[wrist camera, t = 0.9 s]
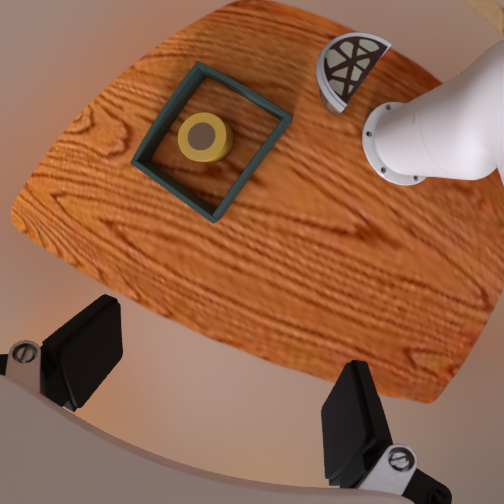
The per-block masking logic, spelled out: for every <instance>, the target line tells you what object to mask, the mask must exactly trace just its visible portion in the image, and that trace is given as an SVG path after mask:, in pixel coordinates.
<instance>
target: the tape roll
mask: <svg viewBox="0 0 504 504" xmlns="http://www.w3.org/2000/svg"><path fill="white" fill-rule="evenodd" d="M178 144H179V147H180V150H181V151H182V153H183V154H184V155H185V156H186V157H188V158H189V159H191V160H194V161H201V162H217V161H220V160H222V159H224V158H225V157H226V156H227V155H228V154H229V153H230V151H231V150H232V147H233V144H234V135H233V131H232V129H231V128H230V126H229V125H228V124H227V123H225V122H224V121H223V120H222V119H220V118H219V117H218V116H216V115H214V114H212V113H208V112H201V113H197V114H194V115H192V116H190V117H189V118H187V119H186V120H185V121H184V123H183V124H182V126H181V127H180V130H179V133H178Z"/></svg>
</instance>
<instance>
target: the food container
mask: <svg viewBox="0 0 504 504" xmlns="http://www.w3.org/2000/svg"><path fill="white" fill-rule="evenodd" d="M391 45H392V44H391V43H389V42H388V41H386V40H384V39H382V38H380V37H378V36H375V35H372V34H368V33H360V32H356V33H348V34H344V35H341V36H338V37H336V38H335V39H333V40H332V41H330V42H329V43H328V44H327V45H326V46H325V47H324V48H323V50H322V51H321V53H320V54H319V57H318V59H317V64H316V75H317V80H318V83H319V87H320V96H321V99H322V101H323V103H324V105H325V106H326V108H327V109H328V110H329V111H330V112H331V113H332V114H333V115H334V116H337V115H338V114H339V113H340V112H342V111H343V110H344V108H345V107H346V106H347V103H348V101H349V100H350V98H351V97H352V96H353V94H354V93H355V91H356V90H357V89H358V87H359V86H360V84H361V83H362V82H363V80H364V79H365V78H366V76H367V75H368V74H369V72H370V71H371V70H372V68H373V67H374V66H375V64H376V63H377V62H378V60H379V59H380V58H381V57H382V56H383V54H384V53H385V52H386V51H387V50H388V48H389V47H390V46H391Z"/></svg>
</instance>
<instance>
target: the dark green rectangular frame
mask: <svg viewBox="0 0 504 504" xmlns="http://www.w3.org/2000/svg"><path fill="white" fill-rule="evenodd" d="M206 76H208V77H210V78H211V79H213V80H215V81H217V82H219V83H221V84H222V85H224V86H226V87H228V88H229V89H231V90H233V91H235V92H236V93H238V94H240V95H241V96H243V97H245V98H246V99H248V100H250V101H251V102H253V103H255V104H256V105H258V106H259V107H261V108H262V109H264V110H266V111H267V112H269V113H270V114H272V115H273V116H275V117H276V118H278V119H279V120H281V122H280V123H279V124H278V125H277V127H276V128H275V129H274V131H273V132H272V133H271V135H270V136H269V137H268V138H267V140H266V141H265V142H264V144H263V145H262V146H261V148H260V149H259V150H258V152H257V153H256V154H255V156H254V157H253V159H252V160H251V161H250V163H249V164H248V165H247V167H246V168H245V170H244V171H243V172H242V174H241V175H240V176H239V178H238V179H237V181H236V182H235V183H234V185H233V186H232V188H231V189H230V191H229V192H228V193H227V195H226V196H225V198H224V199H223V201H222V202H221V203H220V205H219V206H218V208H217V209H215V208H213V207H212V206H210V205H209V204H208V203H206V202H205V201H204V200H202V199H201V198H199V197H198V196H197V195H195V194H194V193H192V192H191V191H190V190H188V189H187V188H186V187H184V186H183V185H181V184H180V183H179V182H177V181H176V180H174V179H173V178H172V177H170V176H169V175H167V174H166V173H165V172H163V171H162V170H160V169H159V168H158V167H156V166H155V165H153V164H152V163H151V162H149V160H150V158H151V157H152V155H153V153H154V152H155V150H156V148H157V147H158V145H159V143H160V142H161V140H162V139H163V137H164V135H165V134H166V132H167V131H168V129H169V128H170V126H171V125H172V123H173V122H174V120H175V119H176V117H177V116H178V114H179V113H180V111H181V110H182V108H183V107H184V106H185V104H186V103H187V101H188V100H189V98H190V97H191V96H192V94H193V93H194V92H195V90H196V89H197V88H198V86H199V85H200V84H201V82H202V81H203V80H204V78H205V77H206ZM291 123H292V116H291V115H290V114H288V113H287V112H285V111H284V110H282V109H281V108H279V107H278V106H276V105H275V104H273V103H272V102H270V101H269V100H267V99H265V98H264V97H262V96H261V95H259V94H257V93H256V92H254V91H252V90H251V89H249V88H247V87H246V86H244V85H242V84H240V83H239V82H237V81H235V80H233V79H232V78H230V77H228V76H226V75H224V74H222V73H220V72H219V71H217V70H215V69H213V68H211V67H209V66H207V65H205V64H203V63H201V62H199V61H197V63H196V64H195V65H194V66H193V67H192V69H191V70H190V71H189V73H188V74H187V75H186V77H185V78H184V79H183V81H182V82H181V83H180V85H179V86H178V87H177V89H176V90H175V91H174V93H173V94H172V96H171V97H170V99H169V100H168V102H167V103H166V104H165V106H164V107H163V109H162V110H161V112H160V113H159V115H158V117H157V118H156V120H155V121H154V123H153V124H152V126H151V128H150V129H149V131H148V133H147V134H146V136H145V137H144V139H143V141H142V143H141V144H140V146H139V148H138V149H137V151H136V153H135V155H134V157H133V159H132V160H131V162H130V163H131V164H132V165H134V166H135V167H137V168H138V169H139V170H141V171H142V172H143V173H145V174H146V175H147V176H149V177H150V178H152V179H153V180H154V181H156V182H157V183H158V184H160V185H161V186H162V187H164V188H165V189H167V190H168V191H169V192H171V193H172V194H173V195H175V196H176V197H177V198H179V199H180V200H181V201H183V202H184V203H186V204H187V205H188V206H190V207H191V208H192V209H194V210H195V211H196V212H198V213H199V214H201V215H202V216H203V217H205V218H206V219H207V220H209V221H210V222H211V223H213V224H214V223H215V222H217V221H218V220H220V219H221V218H222V216H223V215H224V213H225V212H226V210H227V209H228V208H229V206H230V205H231V203H232V202H233V200H234V199H235V198H236V196H237V195H238V193H239V192H240V191H241V189H242V188H243V187H244V185H245V184H246V182H247V181H248V180H249V178H250V177H251V175H252V174H253V173H254V171H255V170H256V169H257V167H258V166H259V165H260V163H261V162H262V161H263V159H264V158H265V157H266V155H267V154H268V153H269V151H270V150H271V149H272V147H273V146H274V145H275V143H276V142H277V141H278V139H279V138H280V137H281V135H282V134H283V133H284V132H285V130H286V129H287V128H288V126H289V125H290V124H291Z"/></svg>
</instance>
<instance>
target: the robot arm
mask: <svg viewBox="0 0 504 504" xmlns="http://www.w3.org/2000/svg"><path fill="white" fill-rule="evenodd" d="M386 107H387V108H388V110H387V109H386ZM366 133H368V134H369V136H367V135H366ZM362 143H363V149H364V152H365V155H366V157H367V159H368V161H369V163H370V165H371V166H372V167H373V169H374V170H375V171H376V172H377V173H378V174H379V175H380V176H381V177H383V178H384V179H386V180H387V181H390V182H392V183H395V184H399V185H413V184H417V183H419V182H421V181H422V180H424V179H425V178H426V177H427V176H430V177H442V178H452V179H463V180H477V179H481V178H484V177H486V176H487V175H489V174H490V173H492V172H493V171H494V170H495V169H496V167H497V168H498V170H499V173H500V176H501V179H502V183H503V186H504V40H502V41H500V42H498V43H496V44H495V45H493V46H492V47H490V48H489V49H488V50H486V51H485V52H484V53H483V54H482V55H481V56H480V57H479V58H478V59H477V60H475V61H474V62H473V63H472V64H471V65H470V66H469V67H468V68H467V69H465V70H464V71H463V72H461V73H460V74H459V75H457V76H456V77H454V78H452V79H450V80H449V81H447V82H445V83H444V84H442V85H440V86H438V87H436V88H434V89H432V90H430V91H429V92H427V93H425V94H423V95H421V96H419V97H417V98H415V99H413V100H411V101H410V102H408V103H406V104H405V103H402V102H387V103H384V104H381V105H380V106H378V107H376V108H375V109H374V110H373V111H372V112H371V113H370V114H369V115H368V117H367V118H366V121H365V123H364V126H363V130H362ZM381 168H382V169H383V171H382V172H381ZM414 177H415V179H414ZM42 343H43V345H42V346H41V347H39V345H38V344H36V343H35V342H32V341H28V340H25V341H20V342H17V343H16V344H14V345H13V346H12V347H11V348H10V351H9V354H0V504H451V501H452V495H451V492H450V490H449V489H448V488H447V487H446V486H445V485H443V484H441V483H440V482H438V481H436V480H435V479H433V478H432V477H430V476H428V475H427V474H425V473H424V472H422V471H420V470H419V469H417V465H418V458H417V455H416V453H415V452H414V451H413V449H411V448H410V447H409V446H406V445H404V444H393V442H392V438H391V434H390V431H389V428H388V424H387V420H386V417H385V414H384V410H383V407H382V404H381V401H380V398H379V396H378V394H377V391H376V388H375V385H374V382H373V379H372V376H371V373H370V370H369V367H368V364H367V362H365V361H358V360H352V361H351V362H350V363H347V364H346V365H345V367H344V369H343V371H342V372H341V374H340V376H339V378H338V380H337V382H336V384H335V385H334V387H333V389H332V391H331V393H330V394H329V396H328V398H327V400H326V401H325V403H324V405H323V406H322V410H321V417H322V418H321V419H322V432H323V447H324V466H325V477H326V479H329V485H330V486H334V485H335V486H336V485H337V486H340V488H315V487H299V486H288V485H279V484H271V483H264V482H257V481H251V480H246V479H241V478H236V477H231V476H226V475H222V474H218V473H214V472H210V471H205V470H202V469H198V468H195V467H192V466H188V465H185V464H182V463H179V462H176V461H173V460H170V459H167V458H164V457H162V456H159V455H156V454H153V453H151V452H148V451H146V450H143V449H141V448H139V447H136V446H134V445H132V444H129V443H127V442H125V441H122V440H121V439H119V438H116V437H114V436H112V435H110V434H108V433H106V432H104V431H102V430H100V429H98V428H96V427H95V426H93V425H91V424H89V423H87V422H86V421H84V420H82V419H81V418H79V417H77V416H75V415H74V414H72V413H70V412H69V411H67V410H65V409H64V408H62V407H63V406H64V407H66V408H68V409H69V410H71V411H73V412H75V411H76V409H77V408H81V407H82V406H83V405H84V404H85V403H86V402H87V400H88V399H89V398H90V396H91V395H92V394H93V393H94V391H95V390H96V389H97V388H98V387H99V385H100V384H101V383H102V381H103V380H104V379H105V378H106V377H107V375H108V374H109V373H110V372H111V371H112V369H113V368H114V367H115V366H116V364H117V363H118V362H119V361H120V360H121V358H122V355H123V348H122V331H121V307H120V304H119V303H118V301H117V299H116V298H114V297H111V296H109V295H106V294H104V295H102V296H101V297H99V298H98V299H97V300H95V301H94V302H93V303H91V304H90V305H89V306H87V307H86V308H85V309H83V310H82V311H81V312H79V313H78V314H77V315H76V316H74V317H73V318H72V319H70V320H69V321H68V322H67V323H65V324H64V325H63V326H62V327H60V328H59V329H58V330H57V331H55V332H54V333H53V334H52V335H50V336H49V337H48V338H47V339H45V341H43V342H42Z"/></svg>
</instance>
